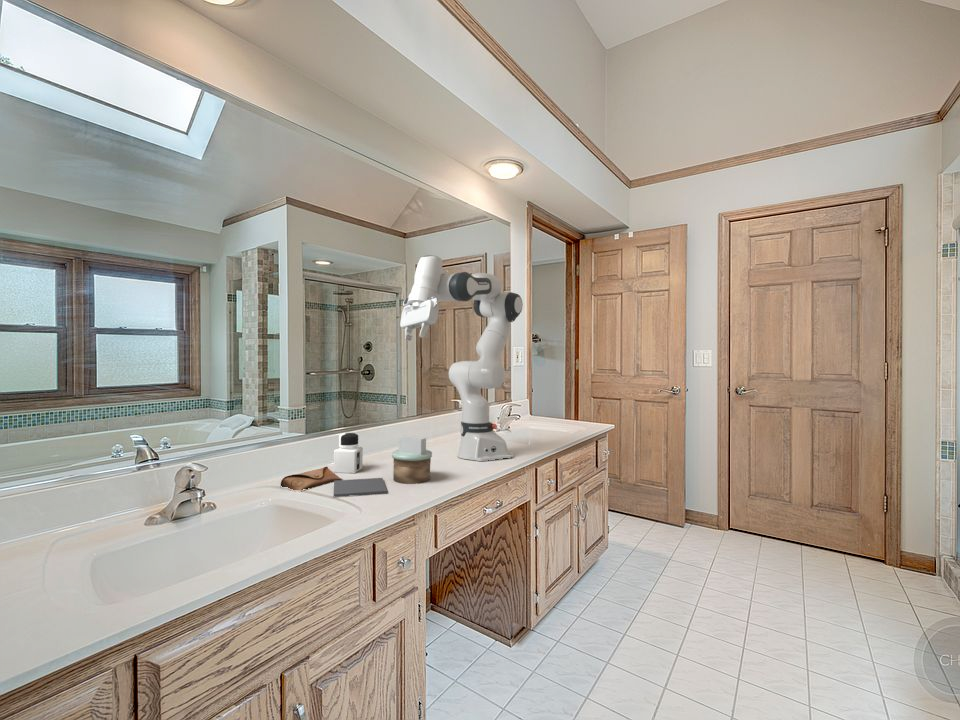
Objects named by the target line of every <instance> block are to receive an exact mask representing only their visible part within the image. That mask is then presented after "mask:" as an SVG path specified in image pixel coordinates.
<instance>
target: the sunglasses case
mask: <svg viewBox="0 0 960 720" xmlns="http://www.w3.org/2000/svg"><path fill="white" fill-rule="evenodd" d="M336 480H343V478H341V477H339V476H338V475H337V473H334V472H333V471H332V470H331V469H330V468H329V467H328V466H324V467H322V468H321V467H320V468H318V469H317V468H316V469H314V470H313V469H312V470H308V471H305V472H304V471H303V472H300V473H295V474H289V475H287V476H284V477H283V478H282V480H281V481H280V487H281V486H282V487H288V488H290V489H293V490H303V489H307V490H309V489H308V488H310V489H313V488H312V487H314V488H317V487H320V486H323V484H324V485H327V484H330V482H331V483H334V481H336ZM316 486H317V487H316Z"/></svg>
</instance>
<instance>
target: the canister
mask: <svg viewBox="0 0 960 720" xmlns="http://www.w3.org/2000/svg"><path fill="white" fill-rule="evenodd" d="M431 458H432V457H431ZM431 458H429V459H425V460H417V461H405V460H397V459H394V458H393V470H392V471H393V474H392V475H393V477H392V478H393V481H394V482H395V483H398V484H404V485H405V484H406V485H413V484H414V485H415V484H416V483H417V484H422V483H423V484H424V483H427V482H429V481H430V480H431V460H432V459H431Z"/></svg>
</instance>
